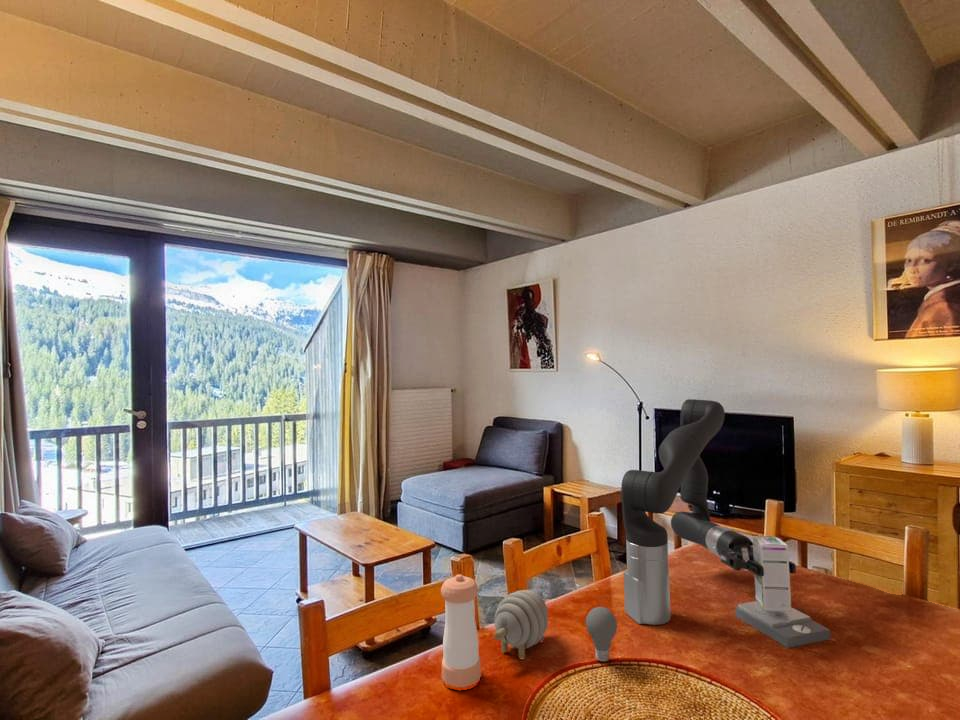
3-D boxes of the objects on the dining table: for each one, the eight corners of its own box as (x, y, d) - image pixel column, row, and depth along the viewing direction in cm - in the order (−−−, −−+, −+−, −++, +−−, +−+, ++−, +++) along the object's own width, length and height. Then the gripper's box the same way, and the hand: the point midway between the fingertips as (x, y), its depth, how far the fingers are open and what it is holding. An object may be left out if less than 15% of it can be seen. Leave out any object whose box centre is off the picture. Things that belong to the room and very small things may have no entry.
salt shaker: (436, 688, 90) (434, 581, 91) (448, 665, 97) (446, 566, 98) (475, 693, 88) (473, 584, 89) (484, 670, 95) (482, 569, 96)
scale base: (787, 647, 100) (786, 636, 100) (735, 616, 114) (735, 605, 114) (830, 639, 103) (829, 628, 103) (774, 609, 117) (774, 599, 117)
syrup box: (792, 612, 107) (790, 544, 108) (762, 610, 108) (760, 543, 109) (782, 600, 113) (779, 536, 113) (753, 598, 114) (751, 535, 114)
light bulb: (596, 671, 94) (594, 617, 94) (581, 654, 100) (580, 604, 100) (624, 665, 96) (622, 612, 96) (608, 649, 101) (606, 599, 102)
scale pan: (772, 627, 104) (772, 624, 105) (738, 607, 114) (738, 604, 114) (810, 620, 107) (810, 617, 107) (774, 601, 116) (773, 598, 116)
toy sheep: (560, 636, 107) (559, 584, 107) (525, 677, 93) (524, 617, 93) (517, 624, 113) (515, 574, 113) (477, 661, 98) (476, 604, 99)
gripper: (702, 532, 124) (748, 555, 108) (753, 527, 126) (806, 550, 110) (703, 562, 124) (749, 591, 107) (754, 557, 126) (807, 584, 110)
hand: (778, 570), depth 109 cm, fingers closed on syrup box, 7 cm apart
